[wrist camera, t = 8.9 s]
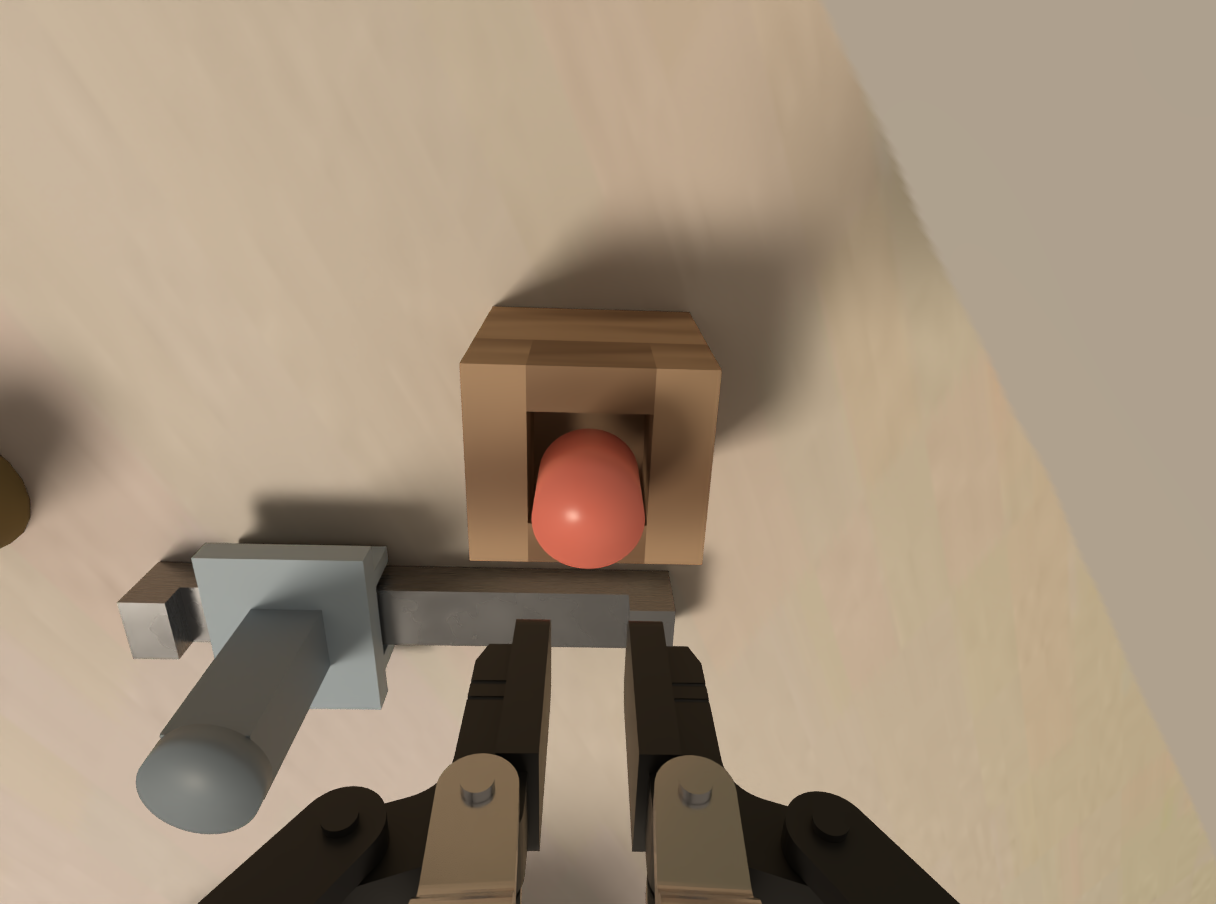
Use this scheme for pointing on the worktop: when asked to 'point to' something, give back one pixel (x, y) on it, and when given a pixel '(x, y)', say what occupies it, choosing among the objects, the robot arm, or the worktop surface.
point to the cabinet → (588, 420)
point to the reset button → (588, 500)
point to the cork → (12, 504)
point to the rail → (433, 606)
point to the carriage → (266, 674)
